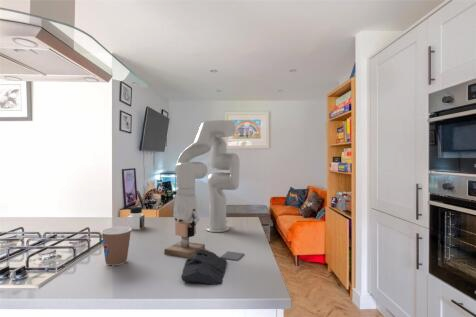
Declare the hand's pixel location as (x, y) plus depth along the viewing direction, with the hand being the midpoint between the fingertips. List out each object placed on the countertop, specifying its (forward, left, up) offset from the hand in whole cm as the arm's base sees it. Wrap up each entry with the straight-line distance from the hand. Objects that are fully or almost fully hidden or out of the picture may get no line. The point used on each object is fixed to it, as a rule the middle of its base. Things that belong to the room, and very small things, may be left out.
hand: (185, 234), depth 112 cm
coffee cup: (+20, -17, -7) cm, 27 cm away
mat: (-2, +20, -7) cm, 22 cm away
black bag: (+15, +17, -8) cm, 24 cm away
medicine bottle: (-24, -47, -7) cm, 53 cm away
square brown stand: (0, 0, -7) cm, 7 cm away
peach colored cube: (0, 0, 0) cm, 0 cm away
